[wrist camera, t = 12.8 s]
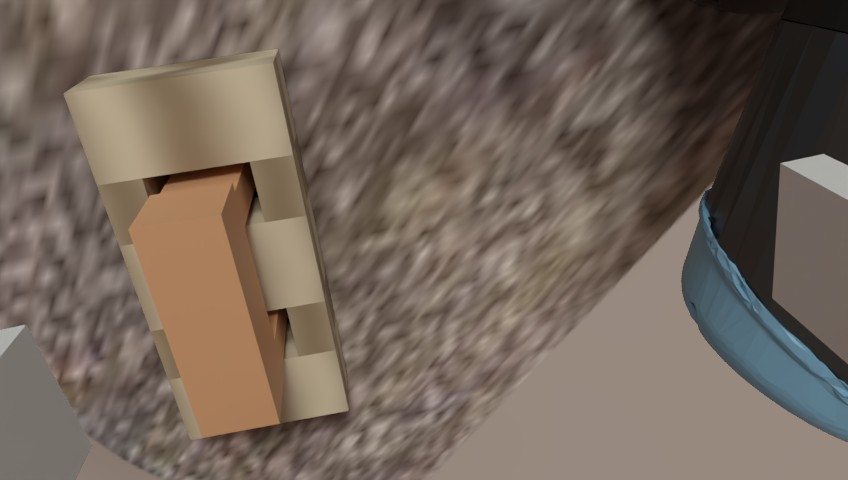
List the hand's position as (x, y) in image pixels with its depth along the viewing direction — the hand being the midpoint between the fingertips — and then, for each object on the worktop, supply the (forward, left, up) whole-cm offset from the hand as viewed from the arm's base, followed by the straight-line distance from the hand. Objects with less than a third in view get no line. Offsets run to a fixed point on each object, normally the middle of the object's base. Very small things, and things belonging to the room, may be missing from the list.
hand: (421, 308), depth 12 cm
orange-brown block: (+9, +11, -28) cm, 31 cm away
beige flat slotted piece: (+9, +11, -28) cm, 31 cm away
